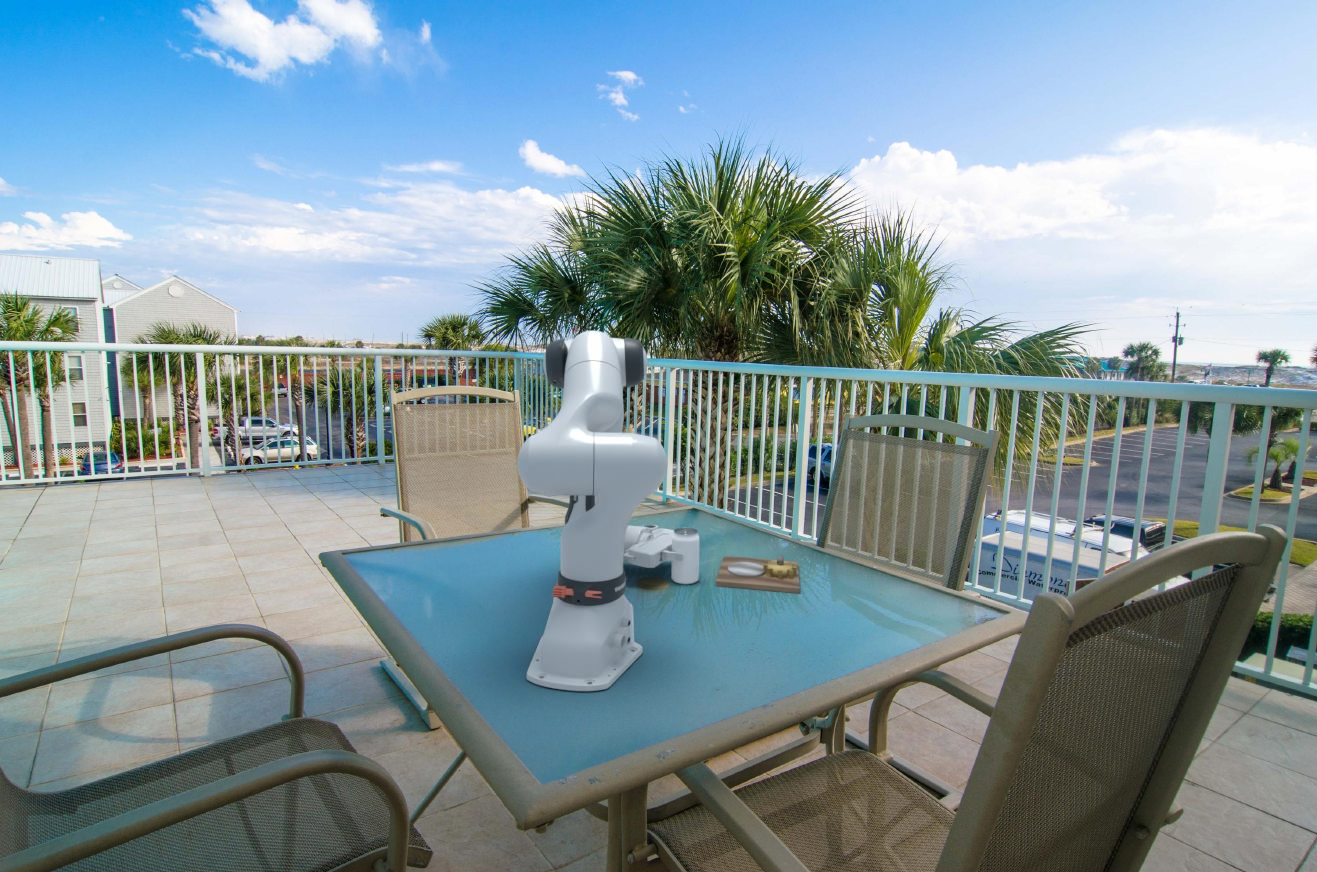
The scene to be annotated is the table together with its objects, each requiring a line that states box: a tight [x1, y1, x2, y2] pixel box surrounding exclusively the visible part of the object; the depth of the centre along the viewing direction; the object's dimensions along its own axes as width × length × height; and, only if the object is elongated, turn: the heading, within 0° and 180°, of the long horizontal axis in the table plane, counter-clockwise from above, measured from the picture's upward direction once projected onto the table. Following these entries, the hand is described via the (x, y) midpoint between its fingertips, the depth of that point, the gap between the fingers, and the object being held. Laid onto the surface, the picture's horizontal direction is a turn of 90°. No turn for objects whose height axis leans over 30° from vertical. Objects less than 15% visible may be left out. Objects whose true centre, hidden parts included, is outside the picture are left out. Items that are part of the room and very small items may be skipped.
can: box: [671, 527, 700, 585], centre depth 152 cm, size 6×6×12 cm
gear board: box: [715, 554, 801, 594], centre depth 157 cm, size 20×19×6 cm
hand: (689, 553), depth 152 cm, fingers open, 5 cm apart
